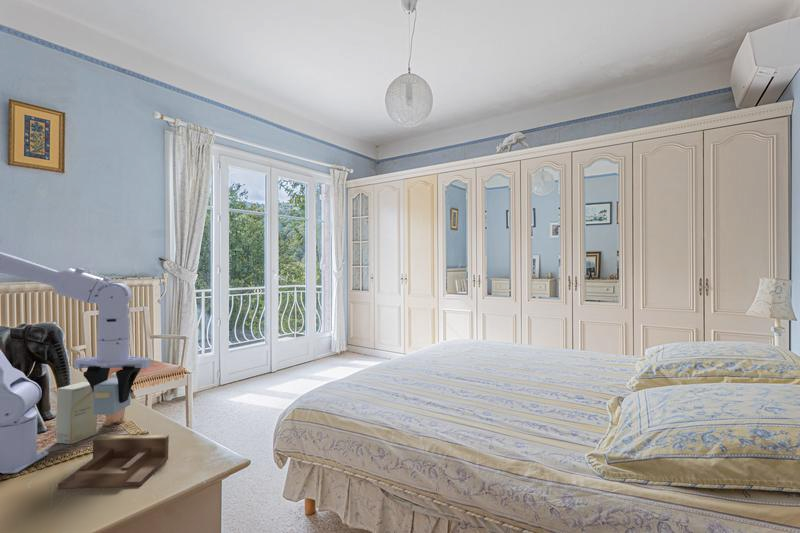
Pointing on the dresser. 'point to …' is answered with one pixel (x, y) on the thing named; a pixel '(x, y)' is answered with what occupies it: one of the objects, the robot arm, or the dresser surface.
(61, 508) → the dresser surface
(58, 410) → the skincare box
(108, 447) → the rack
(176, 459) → the dresser surface
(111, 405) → the cabinet block
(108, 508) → the dresser surface
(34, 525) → the dresser surface
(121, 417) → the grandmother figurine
